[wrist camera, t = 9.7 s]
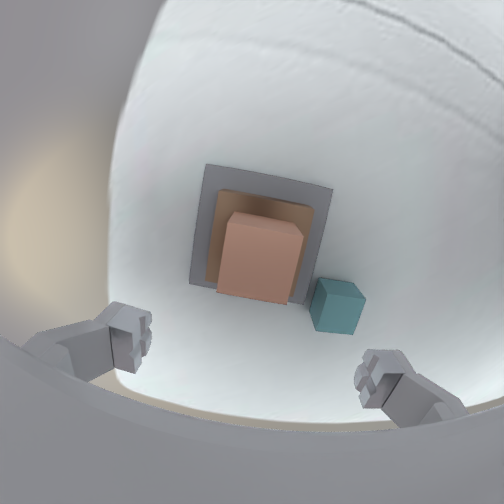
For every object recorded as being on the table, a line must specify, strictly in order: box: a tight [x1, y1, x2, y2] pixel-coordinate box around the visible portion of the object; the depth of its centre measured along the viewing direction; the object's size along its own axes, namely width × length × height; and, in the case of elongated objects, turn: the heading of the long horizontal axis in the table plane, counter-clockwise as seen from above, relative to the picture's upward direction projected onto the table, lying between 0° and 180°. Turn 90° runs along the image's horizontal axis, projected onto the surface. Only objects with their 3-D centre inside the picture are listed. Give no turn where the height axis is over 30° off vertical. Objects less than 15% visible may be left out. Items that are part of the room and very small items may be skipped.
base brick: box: [205, 189, 315, 297], centre depth 25 cm, size 8×8×3 cm
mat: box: [189, 164, 333, 305], centre depth 26 cm, size 12×12×1 cm
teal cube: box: [309, 278, 366, 335], centre depth 26 cm, size 4×4×4 cm
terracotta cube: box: [216, 211, 304, 305], centre depth 21 cm, size 5×5×5 cm
